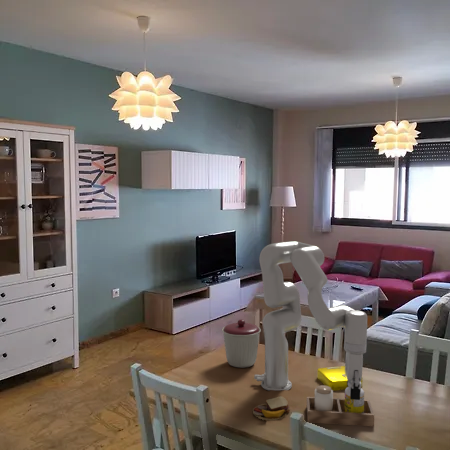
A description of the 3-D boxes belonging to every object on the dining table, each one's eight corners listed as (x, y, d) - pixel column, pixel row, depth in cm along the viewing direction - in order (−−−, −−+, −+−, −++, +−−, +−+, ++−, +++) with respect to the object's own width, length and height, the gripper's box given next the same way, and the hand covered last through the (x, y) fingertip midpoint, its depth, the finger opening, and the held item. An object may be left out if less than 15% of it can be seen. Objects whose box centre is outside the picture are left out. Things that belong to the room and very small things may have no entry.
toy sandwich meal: (250, 407, 182) (250, 395, 182) (285, 405, 183) (286, 393, 183) (255, 423, 170) (255, 410, 169) (293, 421, 171) (293, 409, 171)
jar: (314, 419, 171) (315, 391, 170) (314, 410, 177) (314, 384, 176) (333, 420, 170) (333, 392, 169) (331, 411, 176) (332, 385, 175)
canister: (220, 357, 234) (219, 315, 232) (257, 356, 236) (257, 313, 234) (224, 372, 216) (224, 326, 214) (264, 370, 218) (264, 324, 216)
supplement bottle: (341, 413, 175) (342, 378, 174) (359, 412, 176) (360, 377, 174) (348, 422, 168) (348, 386, 167) (366, 421, 169) (367, 385, 168)
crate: (307, 424, 168) (307, 411, 168) (306, 409, 180) (306, 396, 179) (374, 428, 165) (374, 414, 165) (368, 412, 177) (368, 400, 176)
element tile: (347, 374, 213) (347, 364, 213) (364, 388, 199) (364, 377, 198) (315, 377, 210) (315, 367, 210) (330, 392, 196) (330, 380, 195)
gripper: (341, 337, 179) (340, 381, 181) (346, 354, 162) (345, 403, 164) (362, 338, 178) (360, 383, 180) (370, 355, 161) (367, 405, 163)
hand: (353, 392), depth 172 cm, fingers open, 9 cm apart
